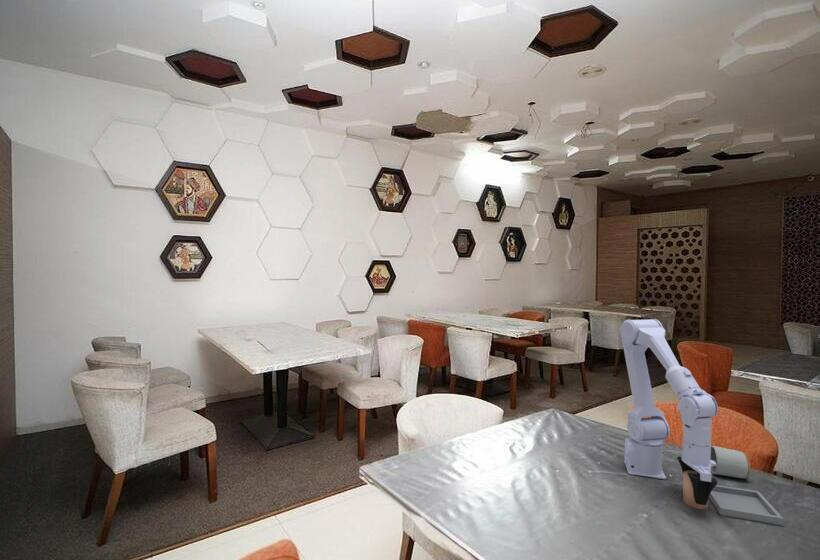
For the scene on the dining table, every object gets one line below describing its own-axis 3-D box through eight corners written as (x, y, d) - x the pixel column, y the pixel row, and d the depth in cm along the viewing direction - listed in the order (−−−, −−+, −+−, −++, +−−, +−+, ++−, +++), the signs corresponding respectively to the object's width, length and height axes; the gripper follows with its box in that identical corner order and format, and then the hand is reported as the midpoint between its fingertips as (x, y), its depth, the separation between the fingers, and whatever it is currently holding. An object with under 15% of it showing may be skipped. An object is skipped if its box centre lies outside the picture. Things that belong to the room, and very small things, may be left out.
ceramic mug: (751, 484, 111) (752, 456, 110) (716, 478, 113) (716, 451, 113) (735, 467, 120) (736, 441, 120) (703, 462, 123) (703, 437, 123)
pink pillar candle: (686, 506, 100) (686, 479, 100) (680, 495, 105) (680, 469, 105) (711, 511, 98) (712, 482, 98) (704, 499, 103) (704, 472, 103)
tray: (720, 515, 97) (720, 508, 97) (703, 489, 108) (703, 482, 108) (783, 526, 93) (783, 518, 92) (758, 498, 104) (758, 491, 104)
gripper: (727, 457, 93) (726, 515, 93) (705, 433, 107) (704, 483, 107) (691, 452, 95) (690, 509, 96) (674, 429, 109) (673, 479, 110)
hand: (695, 495), depth 102 cm, fingers open, 7 cm apart
